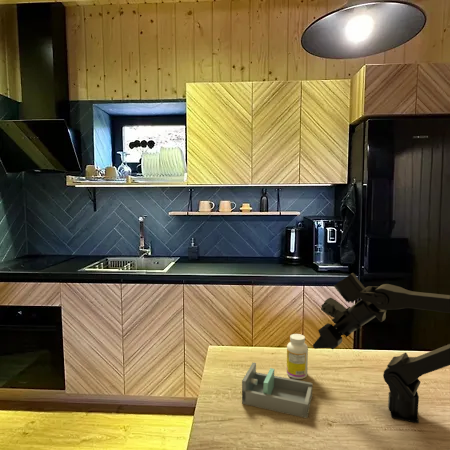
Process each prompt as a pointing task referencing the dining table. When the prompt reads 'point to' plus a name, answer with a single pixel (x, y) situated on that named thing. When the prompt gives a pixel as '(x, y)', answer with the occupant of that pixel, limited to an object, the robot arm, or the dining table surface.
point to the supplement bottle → (297, 357)
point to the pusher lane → (277, 393)
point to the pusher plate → (269, 382)
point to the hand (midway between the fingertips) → (320, 341)
